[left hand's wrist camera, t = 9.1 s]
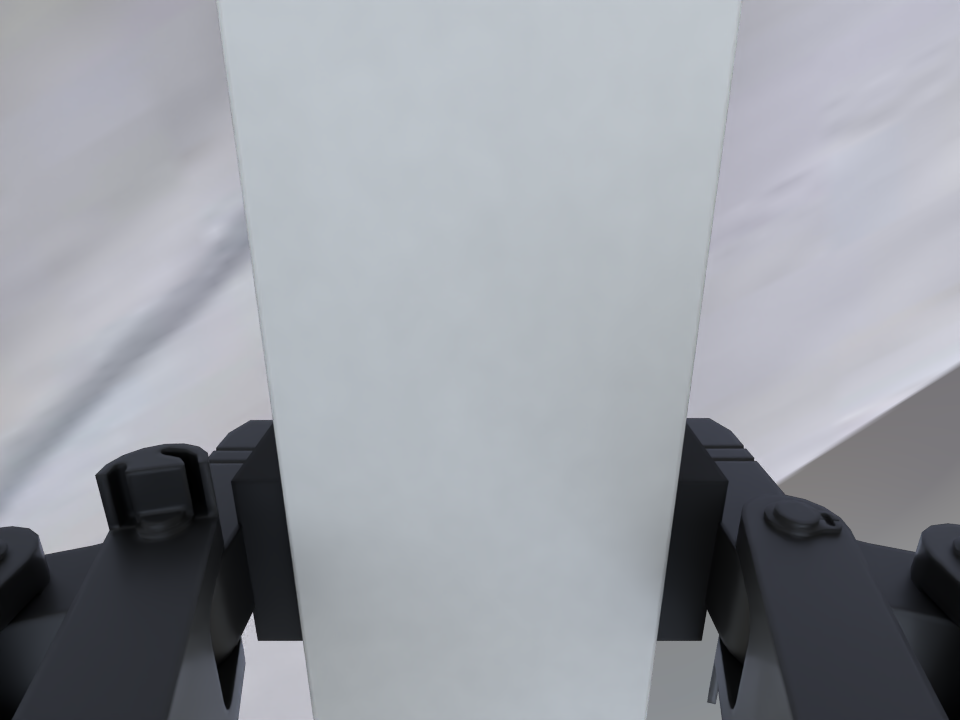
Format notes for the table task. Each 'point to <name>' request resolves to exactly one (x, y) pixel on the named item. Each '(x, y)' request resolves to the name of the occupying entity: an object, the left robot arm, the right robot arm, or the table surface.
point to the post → (479, 332)
